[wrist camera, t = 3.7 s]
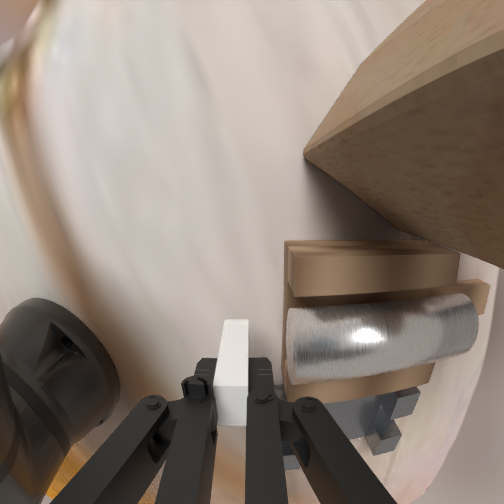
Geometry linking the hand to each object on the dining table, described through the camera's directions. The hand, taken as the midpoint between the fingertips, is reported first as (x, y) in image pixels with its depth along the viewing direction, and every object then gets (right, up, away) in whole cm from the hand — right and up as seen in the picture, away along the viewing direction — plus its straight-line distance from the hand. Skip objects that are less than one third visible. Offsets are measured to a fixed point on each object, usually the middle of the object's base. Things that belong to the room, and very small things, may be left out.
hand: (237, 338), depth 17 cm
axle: (+10, +1, +2) cm, 11 cm away
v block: (+10, -11, +7) cm, 16 cm away
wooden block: (+11, +14, +1) cm, 18 cm away
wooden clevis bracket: (+14, +1, +4) cm, 14 cm away
